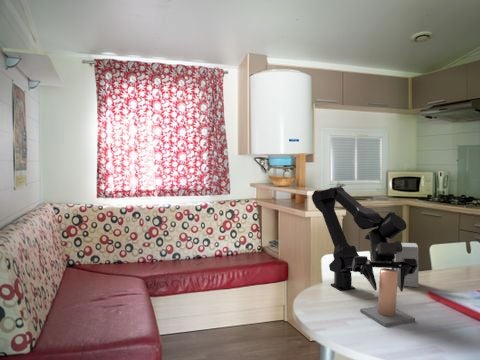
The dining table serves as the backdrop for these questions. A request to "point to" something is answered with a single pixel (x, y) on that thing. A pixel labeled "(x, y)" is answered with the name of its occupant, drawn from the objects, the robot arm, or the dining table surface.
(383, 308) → the terracotta cylinder
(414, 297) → the dining table surface
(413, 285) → the skincare box
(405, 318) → the mat
